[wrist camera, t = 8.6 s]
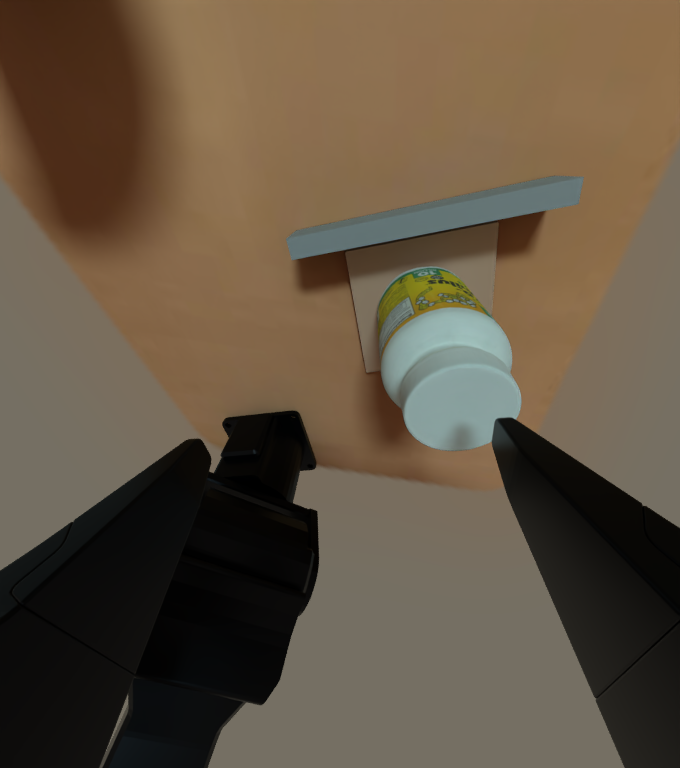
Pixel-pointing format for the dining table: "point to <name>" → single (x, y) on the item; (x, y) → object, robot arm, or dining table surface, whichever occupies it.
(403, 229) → the low wall
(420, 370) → the supplement bottle
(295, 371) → the dining table surface
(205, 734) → the robot arm
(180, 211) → the dining table surface
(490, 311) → the mat
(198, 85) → the dining table surface
